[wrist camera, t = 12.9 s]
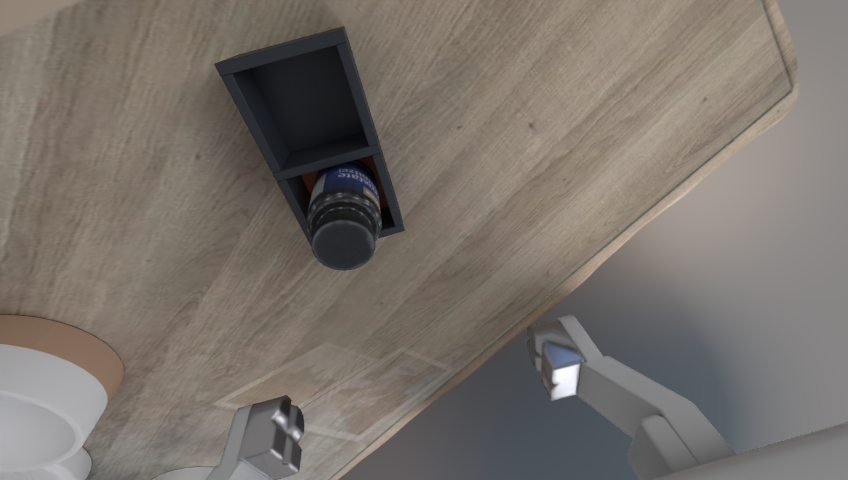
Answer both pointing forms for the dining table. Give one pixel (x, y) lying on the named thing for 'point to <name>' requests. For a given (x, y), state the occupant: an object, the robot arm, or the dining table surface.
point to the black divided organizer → (309, 116)
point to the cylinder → (186, 474)
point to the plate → (57, 470)
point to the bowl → (50, 390)
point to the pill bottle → (344, 215)
